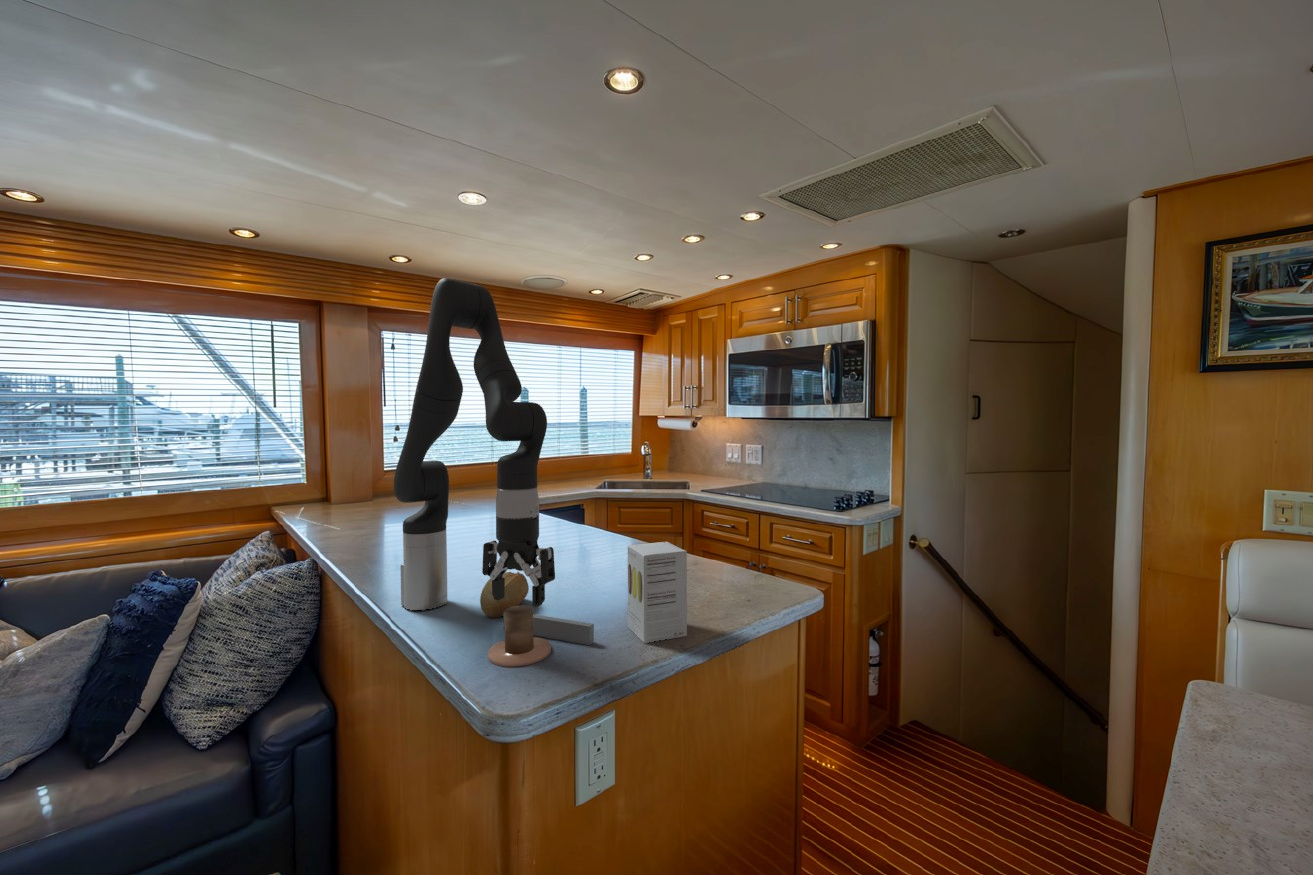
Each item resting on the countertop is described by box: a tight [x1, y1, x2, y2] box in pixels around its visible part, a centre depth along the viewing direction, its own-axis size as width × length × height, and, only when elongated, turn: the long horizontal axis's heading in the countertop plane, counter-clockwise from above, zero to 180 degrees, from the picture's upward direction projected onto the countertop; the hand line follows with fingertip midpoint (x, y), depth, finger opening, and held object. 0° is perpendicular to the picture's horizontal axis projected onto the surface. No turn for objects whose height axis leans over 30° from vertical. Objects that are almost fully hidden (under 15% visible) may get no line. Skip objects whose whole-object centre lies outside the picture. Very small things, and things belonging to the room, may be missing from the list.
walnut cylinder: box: [504, 604, 535, 654], centre depth 96 cm, size 5×5×7 cm
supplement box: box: [627, 541, 688, 644], centre depth 105 cm, size 10×9×17 cm
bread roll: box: [479, 571, 530, 619], centre depth 120 cm, size 10×15×8 cm, turn 177°
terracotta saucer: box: [487, 636, 552, 668], centre depth 96 cm, size 11×11×1 cm
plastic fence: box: [502, 612, 595, 646], centre depth 104 cm, size 20×2×4 cm, turn 67°
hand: (518, 602), depth 96 cm, fingers open, 8 cm apart
